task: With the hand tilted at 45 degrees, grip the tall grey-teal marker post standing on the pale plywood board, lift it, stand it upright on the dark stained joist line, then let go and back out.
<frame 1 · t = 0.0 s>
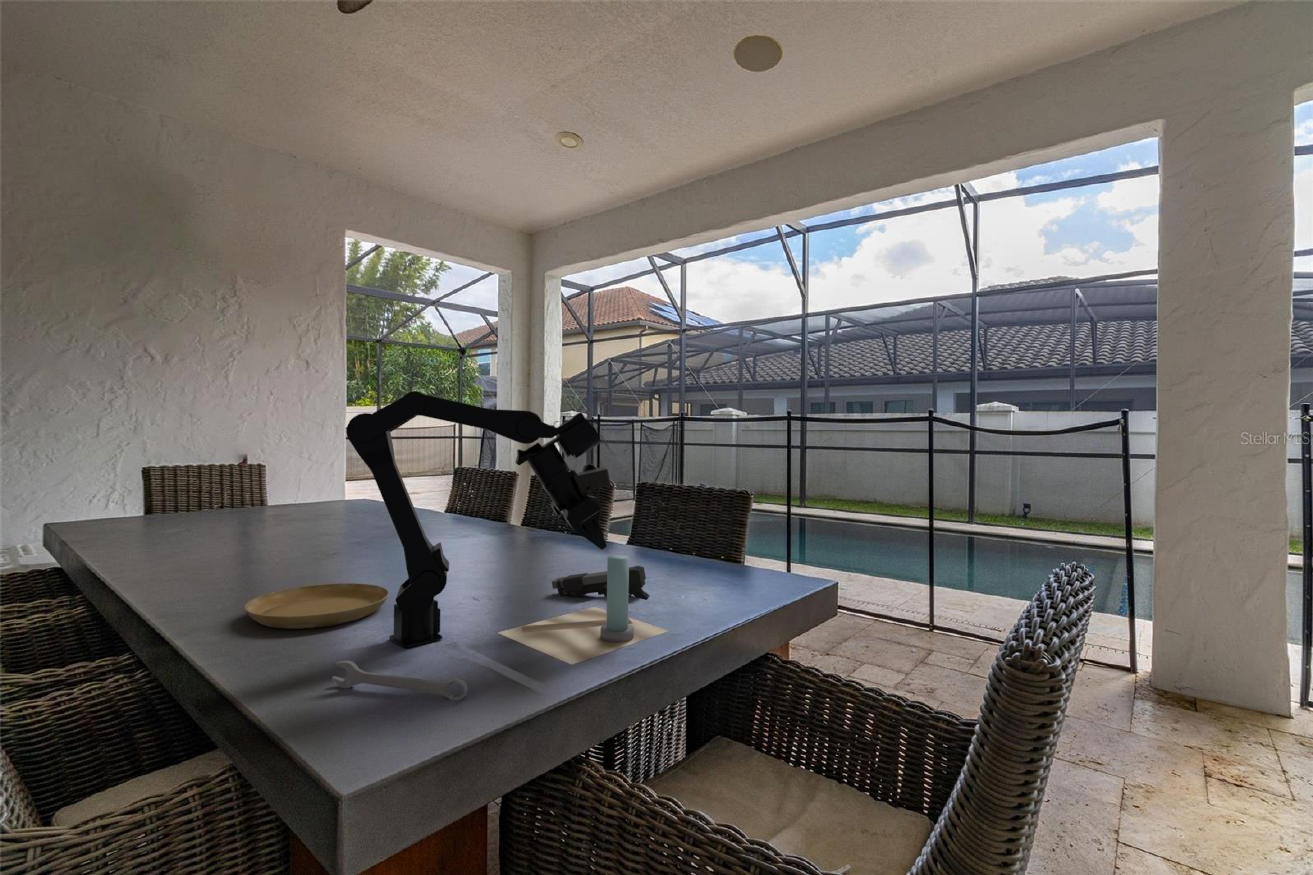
hand: (598, 543, 112), 15 cm above the table, tool tilted 35°, fingers open, 9 cm apart
gun: (600, 599, 130), on the table
combination wrench: (398, 695, 82), on the table
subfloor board: (584, 637, 105), on the table
marker post: (617, 637, 102), point 1 cm above the table, touching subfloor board
plant saucer: (320, 615, 116), on the table
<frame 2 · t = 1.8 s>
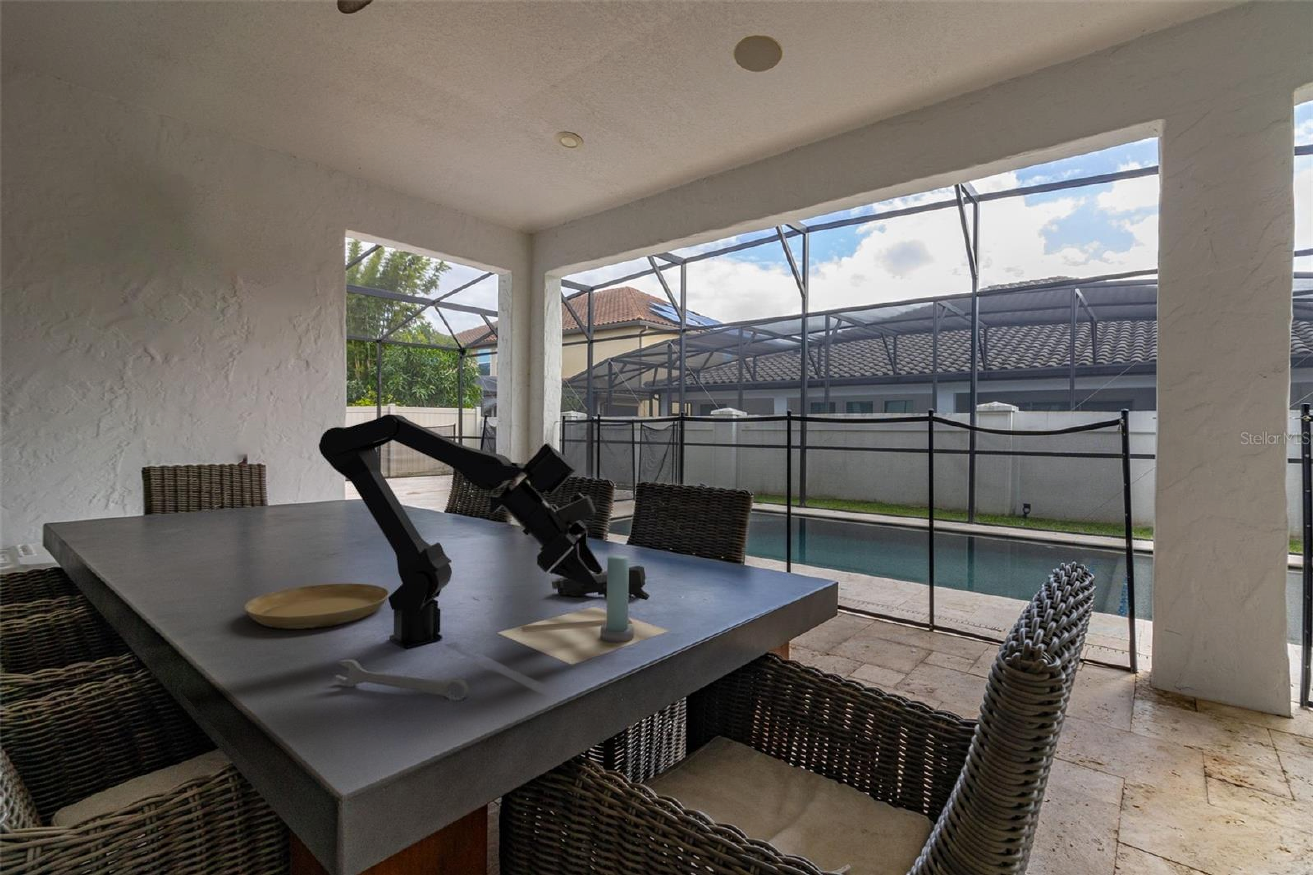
hand: (598, 578, 102), 11 cm above the table, tool tilted 45°, fingers open, 9 cm apart
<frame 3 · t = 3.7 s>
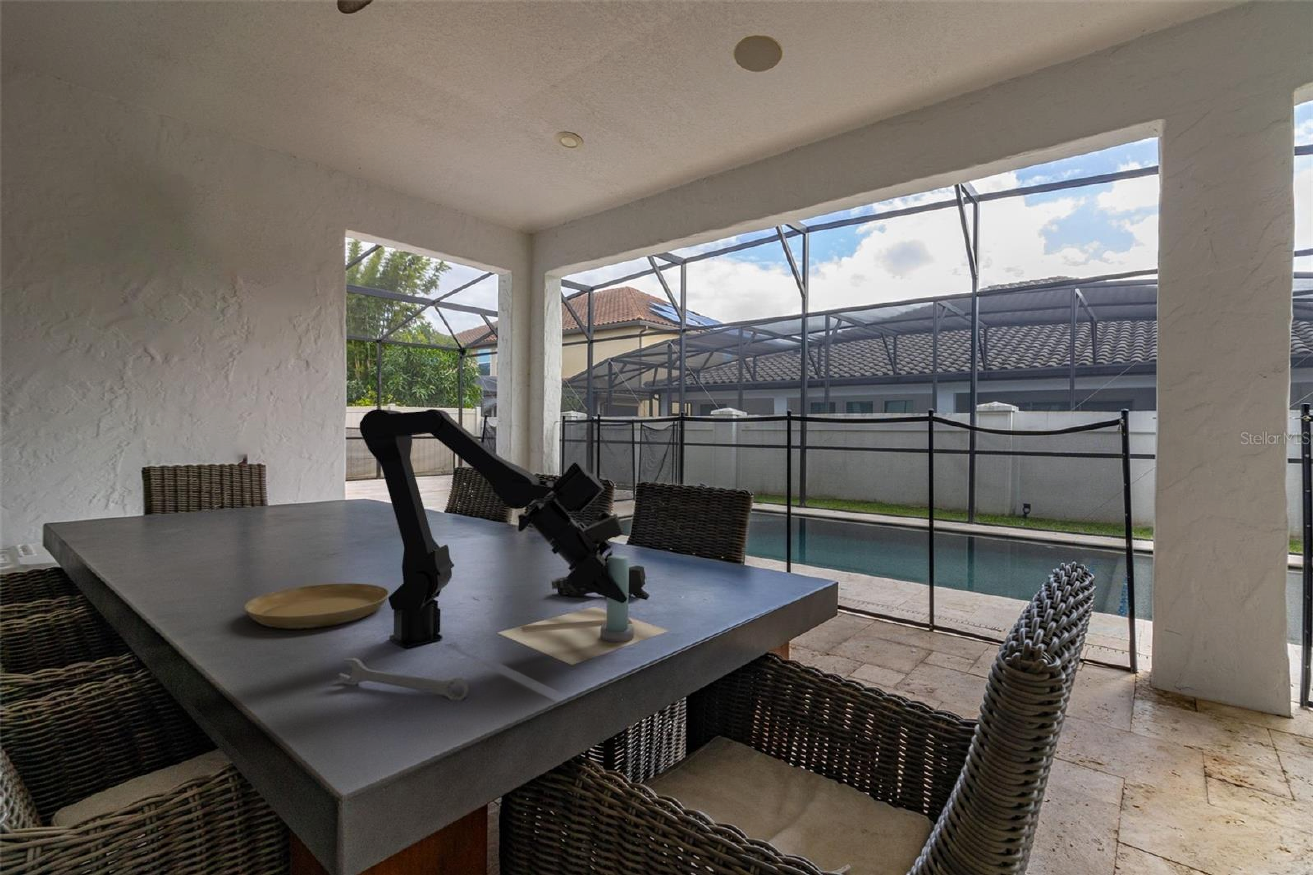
hand: (625, 597, 102), 8 cm above the table, tool tilted 45°, fingers closed on marker post, 4 cm apart
marker post: (617, 637, 102), point 1 cm above the table, touching gripper, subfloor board
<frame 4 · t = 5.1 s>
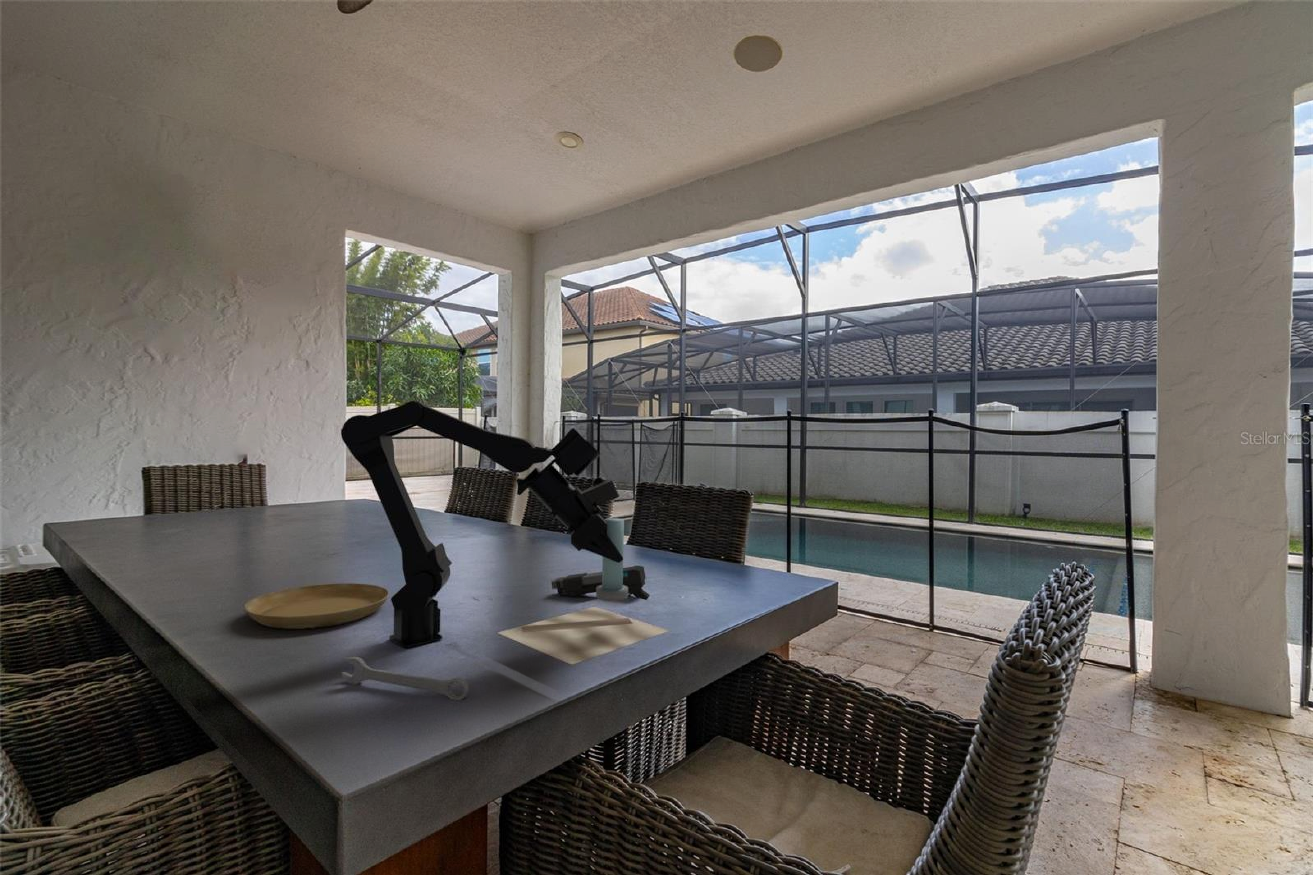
hand: (620, 558, 106), 13 cm above the table, tool tilted 45°, fingers closed on marker post, 4 cm apart
marker post: (612, 596, 106), point 7 cm above the table, touching gripper
everything else where it was.
when the fingers open (9 cm above the table, at t = 6.7 s): marker post drops 1 cm, resting on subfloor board.
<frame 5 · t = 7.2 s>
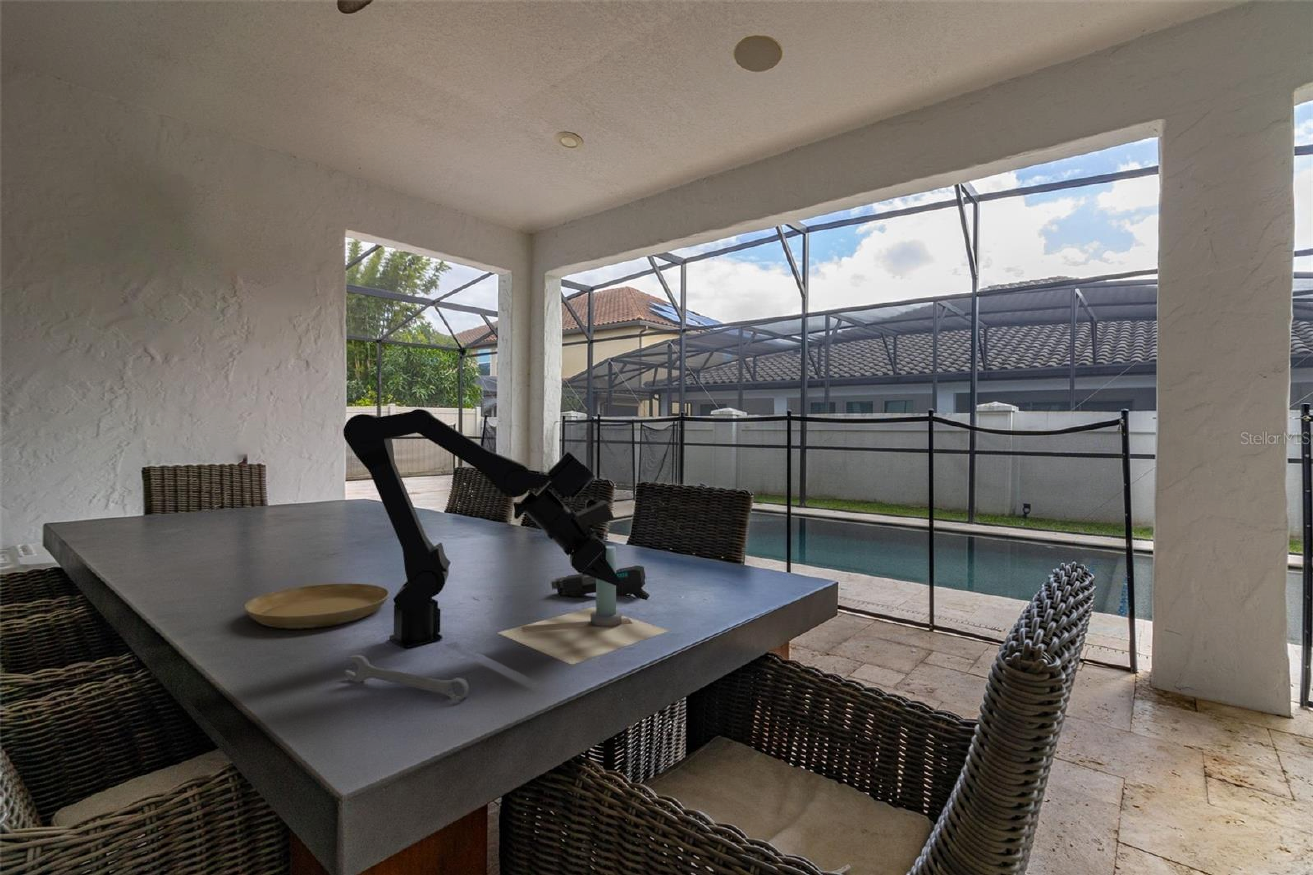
hand: (614, 577, 110), 9 cm above the table, tool tilted 45°, fingers open, 9 cm apart
marker post: (606, 622, 110), point 1 cm above the table, touching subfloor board
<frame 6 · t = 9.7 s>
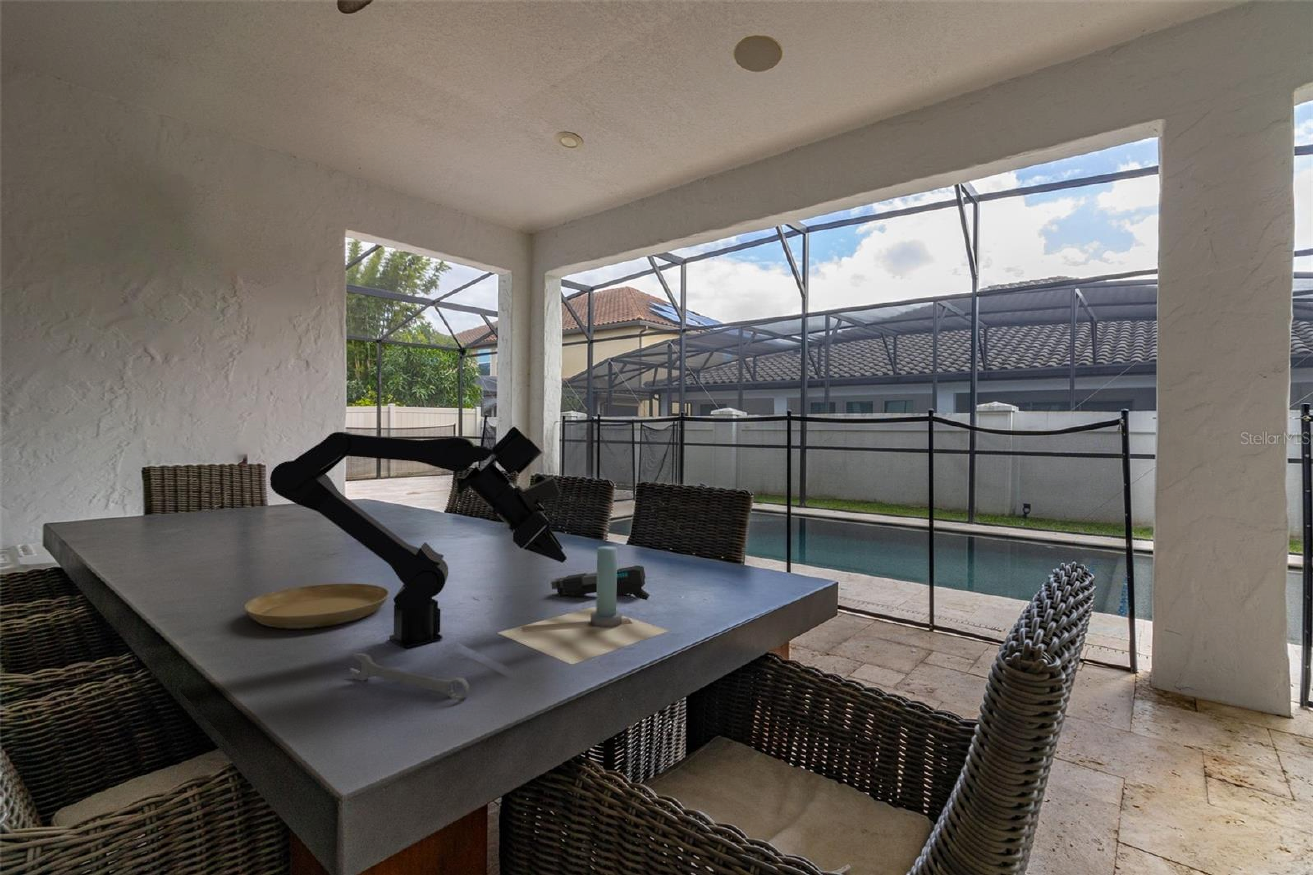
hand: (562, 555, 108), 14 cm above the table, tool tilted 45°, fingers open, 9 cm apart
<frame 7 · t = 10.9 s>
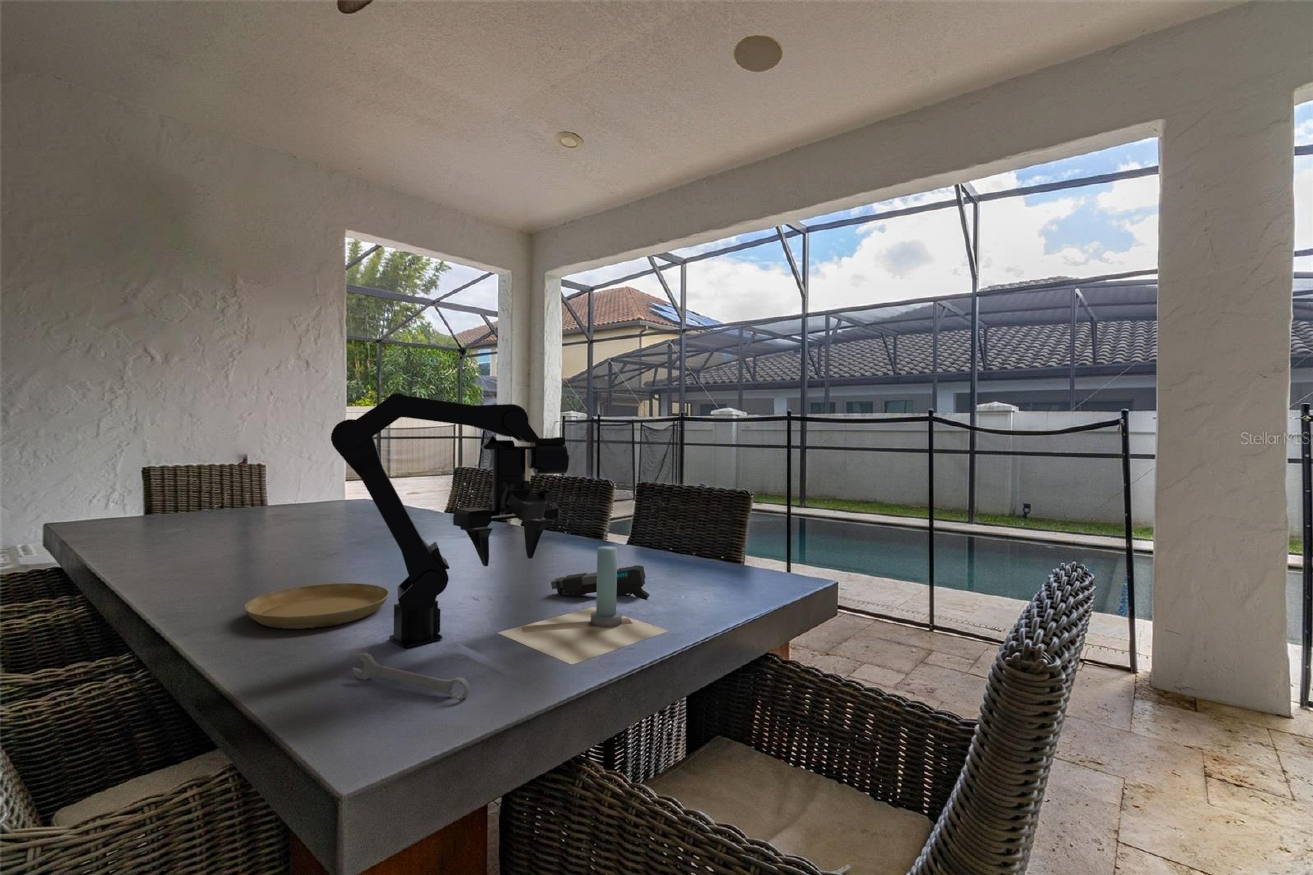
hand: (508, 562, 108), 12 cm above the table, tool pointing down, fingers open, 9 cm apart
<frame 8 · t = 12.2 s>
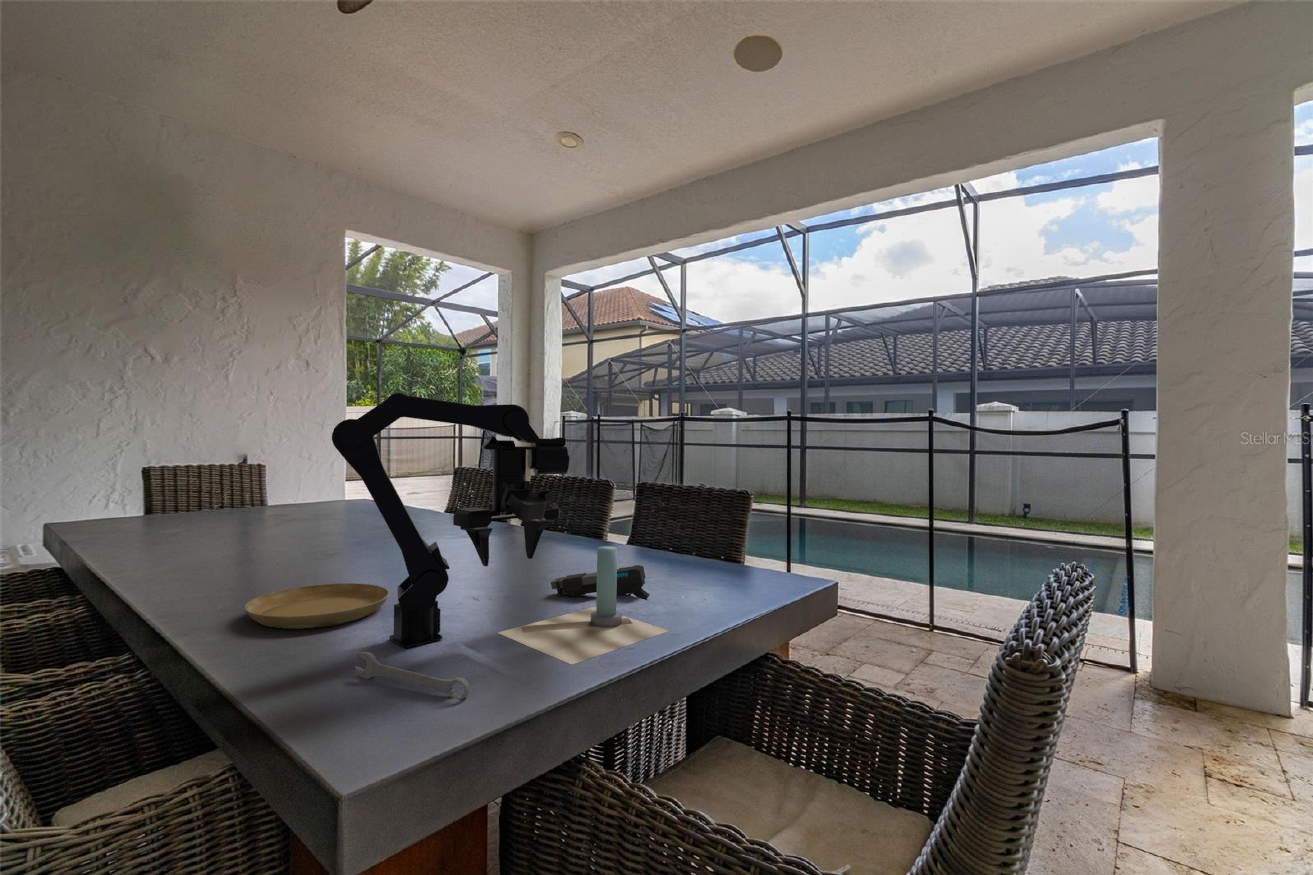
hand: (508, 562, 108), 12 cm above the table, tool pointing down, fingers open, 9 cm apart
at the end: marker post 0.1 cm from the target spot, point 1.0 cm above the table; marker post tilted 0°; the gripper is holding nothing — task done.
